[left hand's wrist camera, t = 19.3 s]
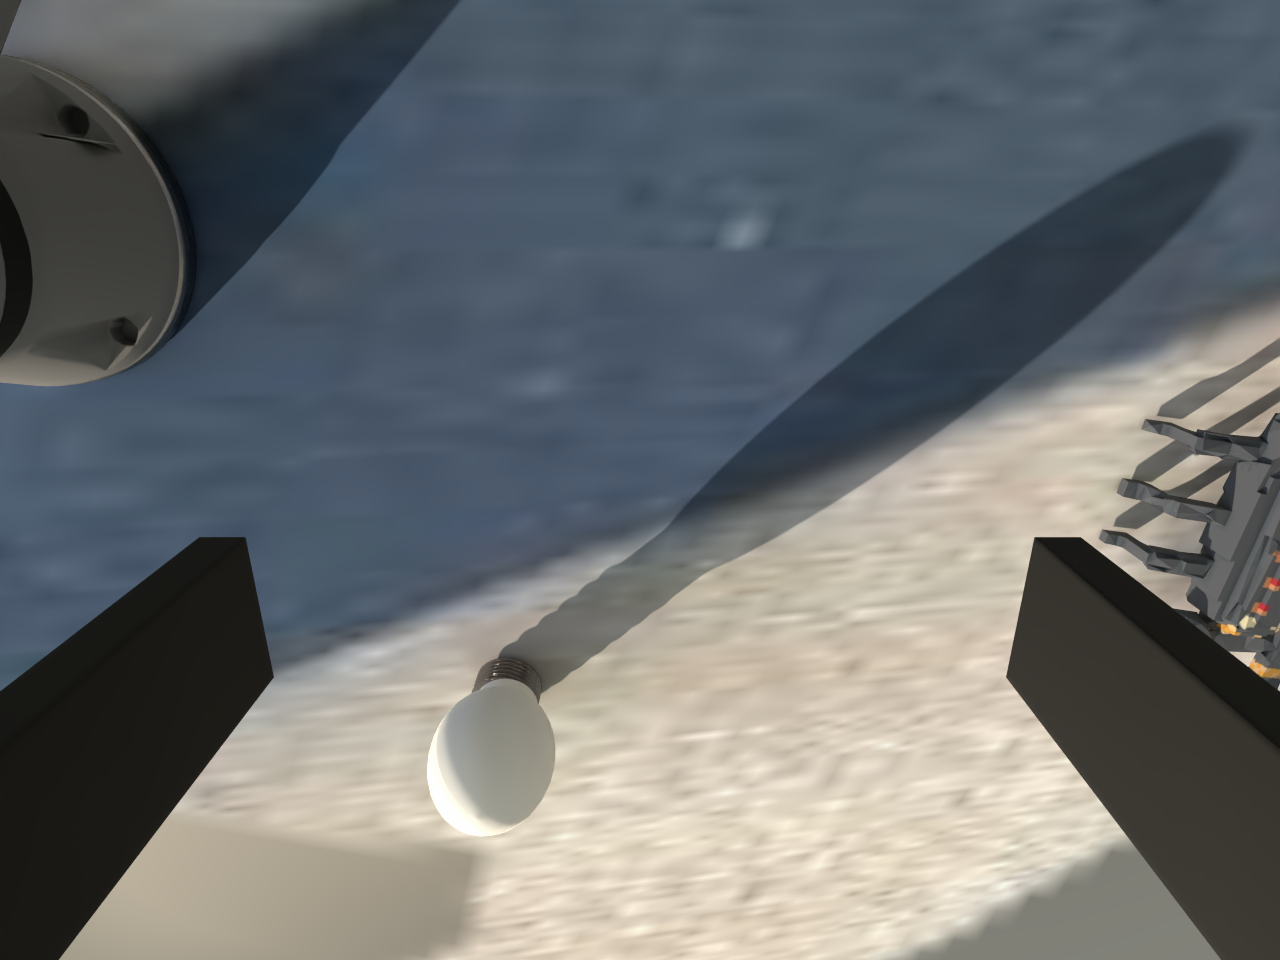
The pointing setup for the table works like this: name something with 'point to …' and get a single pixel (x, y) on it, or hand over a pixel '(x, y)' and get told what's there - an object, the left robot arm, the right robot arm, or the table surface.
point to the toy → (1226, 543)
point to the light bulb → (493, 752)
